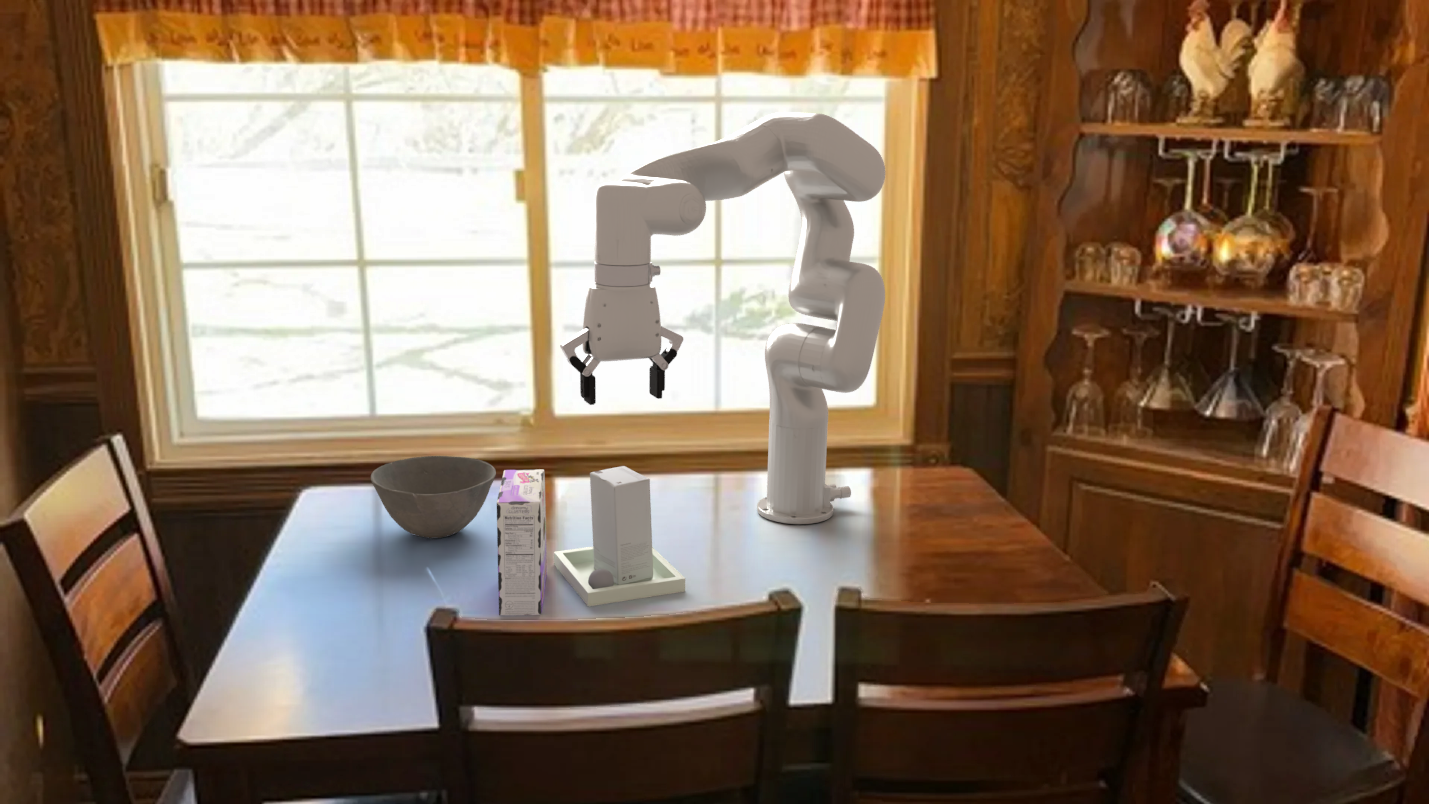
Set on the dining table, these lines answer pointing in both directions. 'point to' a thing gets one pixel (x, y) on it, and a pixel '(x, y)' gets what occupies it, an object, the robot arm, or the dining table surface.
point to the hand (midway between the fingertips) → (623, 399)
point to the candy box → (521, 542)
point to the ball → (600, 579)
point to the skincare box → (622, 524)
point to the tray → (581, 565)
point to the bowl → (433, 492)
